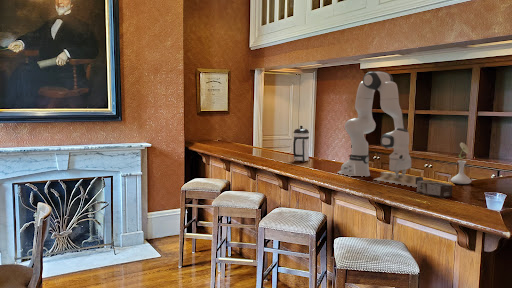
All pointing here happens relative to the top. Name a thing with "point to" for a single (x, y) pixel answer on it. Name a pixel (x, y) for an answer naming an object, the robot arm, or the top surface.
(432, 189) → the coffee box
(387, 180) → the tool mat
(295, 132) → the coffee press
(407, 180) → the mottled brown bar
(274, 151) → the top surface
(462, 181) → the flower in vase
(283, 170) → the top surface
